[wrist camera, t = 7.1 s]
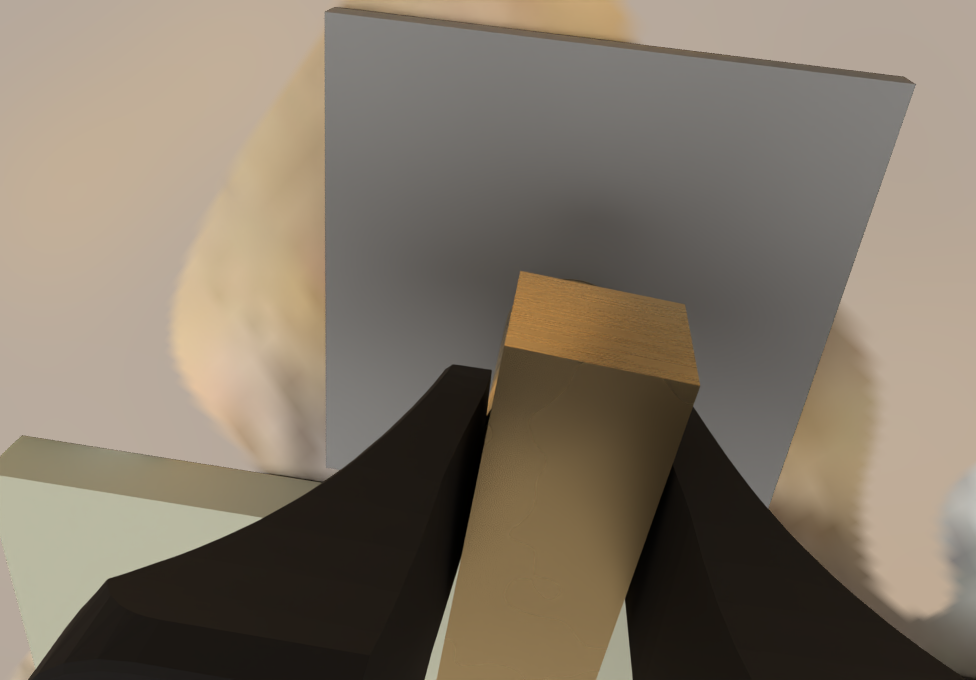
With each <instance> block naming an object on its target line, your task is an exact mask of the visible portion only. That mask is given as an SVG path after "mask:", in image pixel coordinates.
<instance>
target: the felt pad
mask: <svg viewBox="0 0 976 680" xmlns="http://www.w3.org/2000/svg"><path fill="white" fill-rule="evenodd" d="M915 85H916V84H914V83H913V82H911V81H910V80H908V79H907V78H905V77H901V76H893V75H885V74H876V73H869V72H861V71H852V70H844V69H835V68H828V67H820V66H811V65H803V64H795V63H787V62H779V61H771V60H762V59H754V58H745V57H738V56H730V55H722V54H714V53H713V54H712V53H705V52H697V51H689V50H680V49H672V48H665V47H656V46H648V45H640V44H632V43H624V42H616V41H608V40H599V39H591V38H583V37H575V36H567V35H559V34H550V33H542V32H534V31H526V30H518V29H510V28H501V27H493V26H485V25H477V24H469V23H461V22H452V21H444V20H436V19H428V18H420V17H412V16H403V15H395V14H387V13H379V12H371V11H363V10H354V9H346V8H338V7H334V8H332V9H329V10H327V11H325V280H326V468H332V469H338V470H341V469H342V468H343V467H345V466H346V465H347V464H349V463H350V462H351V461H352V460H354V459H355V458H356V457H357V456H359V455H360V454H361V453H362V452H363V451H364V450H366V449H367V448H368V447H369V446H370V445H372V444H373V443H374V442H375V441H376V440H378V439H379V438H380V437H381V436H382V435H383V434H384V433H386V432H387V431H388V430H389V429H390V428H391V427H392V426H393V425H394V424H395V423H396V422H397V421H398V420H399V419H400V418H401V417H402V416H403V415H404V414H405V413H406V412H407V411H408V410H409V409H410V408H412V407H413V405H414V404H415V403H416V402H417V401H418V400H419V399H420V398H421V397H422V396H423V395H424V394H425V393H426V392H427V390H428V389H429V388H430V387H431V386H432V385H433V384H434V382H435V381H436V380H437V379H438V378H439V376H440V375H441V374H442V373H443V371H444V370H445V369H446V368H448V367H449V366H451V365H452V364H456V365H463V366H469V367H476V368H483V369H490V370H492V374H491V382H490V390H491V386H492V381H493V377H494V372H495V368H496V363H497V359H498V354H499V350H500V346H501V341H502V337H503V332H504V328H505V323H506V320H507V316H508V314H509V312H510V309H511V308H512V306H513V303H514V298H515V294H516V289H517V284H518V280H519V275H520V271H524V272H529V273H534V274H539V275H544V276H548V277H553V278H558V279H576V280H582V281H585V282H589V283H591V284H594V285H596V286H598V287H602V288H607V289H612V290H617V291H622V292H627V293H632V294H637V295H642V296H647V297H651V298H656V299H661V300H666V301H671V302H676V303H681V304H685V307H686V312H687V318H688V323H689V328H690V334H691V339H692V344H693V350H694V355H695V360H696V366H697V371H698V376H699V382H700V388H699V391H698V394H697V397H696V400H695V402H694V405H693V407H694V408H695V410H696V411H697V413H698V414H699V416H700V417H701V419H702V420H703V422H704V423H705V425H706V426H707V428H708V429H709V431H710V432H711V434H712V435H713V436H714V438H715V439H716V441H717V442H718V444H719V445H720V447H721V448H722V449H723V451H724V452H725V454H726V455H727V457H728V458H729V459H730V461H731V462H732V464H733V465H734V466H735V468H736V469H737V470H738V472H739V473H740V474H741V476H742V477H743V478H744V479H745V481H746V482H747V483H748V485H749V486H750V487H751V489H752V490H753V491H754V492H755V494H756V495H757V496H758V497H759V499H760V500H761V501H762V502H763V503H764V505H765V506H766V507H767V508H768V507H769V505H770V502H771V499H772V496H773V493H774V490H775V487H776V484H777V482H778V479H779V476H780V473H781V470H782V467H783V464H784V461H785V459H786V456H787V453H788V450H789V447H790V444H791V441H792V438H793V436H794V433H795V430H796V427H797V424H798V421H799V418H800V416H801V413H802V410H803V407H804V404H805V401H806V398H807V395H808V393H809V390H810V387H811V384H812V381H813V378H814V375H815V372H816V370H817V367H818V364H819V361H820V358H821V355H822V352H823V349H824V347H825V344H826V341H827V338H828V335H829V332H830V329H831V327H832V324H833V321H834V318H835V315H836V312H837V309H838V306H839V304H840V301H841V298H842V295H843V292H844V289H845V286H846V283H847V281H848V278H849V275H850V272H851V269H852V266H853V263H854V261H855V258H856V255H857V252H858V249H859V246H860V243H861V240H862V238H863V235H864V232H865V229H866V226H867V223H868V220H869V217H870V215H871V212H872V208H873V206H874V203H875V200H876V197H877V194H878V192H879V189H880V186H881V183H882V180H883V177H884V174H885V172H886V168H887V166H888V163H889V160H890V157H891V154H892V151H893V148H894V146H895V143H896V140H897V137H898V134H899V131H900V128H901V126H902V123H903V120H904V117H905V114H906V111H907V108H908V105H909V103H910V99H911V96H912V94H913V91H914V88H915ZM489 395H490V391H489Z"/></svg>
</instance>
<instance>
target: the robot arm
mask: <svg viewBox="0 0 976 680" xmlns="http://www.w3.org/2000/svg"><path fill="white" fill-rule="evenodd" d="M491 374H492V370H490V369H483V368H476V367H469V366H463V365H456V364H452V365H451V366H449V367H448V368H446V369H445V370H444V371H443V373H442V374H441V375H440V376H439V378H438V379H437V380H436V381H435V382H434V384H433V385H432V386H431V387H430V388H429V389H428V390H427V392H426V393H425V394H424V395H423V396H422V397H421V398H420V399H419V400H418V401H417V402H416V403H415V404H414V405H413V407H412V408H410V409H409V410H408V411H407V412H406V413H405V414H404V415H403V416H402V417H401V418H400V419H399V420H398V421H397V422H396V423H395V424H394V425H393V426H392V427H391V428H390V429H389V430H388V431H387V432H386V433H384V434H383V435H382V436H381V437H380V438H379V439H378V440H376V441H375V442H374V443H373V444H372V445H370V446H369V447H368V448H367V449H366V450H364V451H363V452H362V453H361V454H360V455H359V456H357V457H356V458H355V459H354V460H352V461H351V462H350V463H349V464H347V465H346V466H345V467H343V468H342V469H341V470H339V471H338V472H337V473H335V474H334V475H332V476H331V477H330V478H328V479H327V480H325V481H324V482H322V483H321V484H319V485H318V486H316V487H315V488H313V489H312V490H311V491H309V492H307V493H306V494H304V495H303V496H301V497H299V498H298V499H296V500H294V501H292V502H291V503H289V504H287V505H285V506H284V507H282V508H280V509H278V510H276V511H275V512H273V513H271V514H269V515H267V516H265V517H264V518H262V519H260V520H258V521H256V522H254V523H252V524H250V525H248V526H246V527H244V528H242V529H239V530H237V531H235V532H233V533H231V534H229V535H227V536H224V537H222V538H220V539H217V540H215V541H212V542H210V543H208V544H205V545H203V546H201V547H198V548H196V549H193V550H191V551H188V552H186V553H183V554H180V555H178V556H175V557H172V558H169V559H166V560H163V561H160V562H157V563H154V564H151V565H148V566H146V567H143V568H140V569H137V570H134V571H131V572H128V573H125V574H122V575H119V576H115V577H112V578H109V579H107V580H106V581H105V582H104V584H103V585H102V586H101V587H100V589H99V590H98V591H97V592H96V593H95V594H94V595H93V596H92V597H91V598H90V599H89V601H88V602H87V603H86V604H85V605H84V606H83V607H82V608H81V609H80V610H79V612H78V613H77V614H76V615H75V617H74V618H73V619H72V620H71V622H70V623H69V624H68V625H67V627H66V628H65V629H64V631H63V632H62V633H61V635H60V636H59V638H58V639H57V640H56V642H55V643H54V644H53V646H52V647H51V649H50V650H49V651H48V653H47V654H46V656H45V657H44V658H43V660H42V661H41V663H40V664H39V665H38V667H37V668H36V669H35V671H34V672H33V674H32V675H31V676H30V678H29V679H28V680H425V676H426V673H427V669H428V665H429V661H430V657H431V654H432V650H433V647H434V644H435V641H436V637H437V634H438V631H439V628H440V624H441V621H442V618H443V615H444V612H445V608H446V605H447V602H448V599H449V595H450V592H451V589H452V586H453V583H454V579H455V576H456V573H457V570H458V566H459V563H460V560H461V556H462V551H463V546H464V541H465V537H466V532H467V527H468V522H469V517H470V512H471V507H472V502H473V497H474V492H475V487H476V482H477V477H478V473H479V472H478V470H479V462H480V453H481V444H482V436H483V430H484V426H485V421H486V417H487V408H488V400H489V391H490V382H491ZM625 606H626V616H627V626H628V637H629V647H630V657H631V668H632V678H633V680H966V679H964V678H963V677H962V676H960V675H959V674H957V673H956V672H954V671H953V670H952V669H950V668H949V667H947V666H946V665H944V664H943V663H942V662H940V661H939V660H937V659H936V658H934V657H933V656H932V655H930V654H929V653H927V652H926V651H924V650H923V649H922V648H920V647H919V646H918V645H916V644H915V643H914V642H912V641H911V640H910V639H908V638H907V637H906V636H904V635H903V634H902V633H900V632H899V631H898V630H896V629H895V628H894V627H892V626H891V625H890V624H889V623H887V622H886V621H885V620H884V619H883V618H881V617H880V616H879V615H878V614H877V613H875V612H874V611H873V610H872V609H870V608H869V607H868V606H867V605H866V604H864V603H863V602H862V601H861V600H860V599H858V598H857V597H856V596H855V595H854V594H852V593H851V592H850V591H849V590H848V589H847V588H846V587H844V586H843V585H842V584H841V583H840V582H839V581H838V580H837V579H836V578H834V577H833V576H832V575H831V574H830V573H829V572H828V571H827V570H826V569H825V568H824V567H823V566H822V565H821V564H820V563H819V562H818V561H817V560H816V559H815V558H814V557H813V556H812V555H811V554H810V553H809V552H808V551H807V550H805V549H804V548H803V547H802V546H801V545H800V544H799V542H798V541H797V540H796V539H795V538H794V537H793V536H792V535H791V534H790V533H789V532H788V531H787V530H786V529H785V528H784V526H783V525H782V524H781V523H780V522H779V521H778V519H777V518H776V517H775V516H774V515H773V514H772V513H771V511H770V510H769V509H768V508H767V507H766V506H765V505H764V503H763V502H762V501H761V500H760V499H759V497H758V496H757V495H756V494H755V492H754V491H753V490H752V489H751V487H750V486H749V485H748V483H747V482H746V481H745V479H744V478H743V477H742V476H741V474H740V473H739V472H738V470H737V469H736V468H735V466H734V465H733V464H732V462H731V461H730V459H729V458H728V457H727V455H726V454H725V452H724V451H723V449H722V448H721V447H720V445H719V444H718V442H717V441H716V439H715V438H714V436H713V435H712V434H711V432H710V431H709V429H708V428H707V426H706V425H705V423H704V422H703V420H702V419H701V417H700V416H699V414H698V413H697V411H696V410H695V408H694V407H693V408H692V411H691V414H690V416H689V419H688V422H687V425H686V428H685V431H684V433H683V436H682V439H681V442H680V445H679V447H678V450H677V453H676V456H675V459H674V462H673V464H672V467H671V470H670V473H669V476H668V478H667V481H666V484H665V487H664V490H663V493H662V495H661V498H660V501H659V504H658V507H657V509H656V512H655V515H654V518H653V521H652V524H651V526H650V529H649V532H648V535H647V538H646V541H645V543H644V546H643V549H642V552H641V555H640V557H639V560H638V563H637V566H636V569H635V572H634V574H633V577H632V580H631V583H630V586H629V588H628V591H627V594H626V597H625Z"/></svg>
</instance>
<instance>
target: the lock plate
mask: <svg viewBox="0 0 976 680" xmlns="http://www.w3.org/2000/svg"><path fill="white" fill-rule="evenodd" d="M319 484H321V482H314V481H308V480H302V479H295V478H289V477H283V476H276V475H270V474H264V473H257V472H251V471H244V470H238V469H232V468H226V467H219V466H213V465H206V464H200V463H194V462H188V461H181V460H174V459H168V458H162V457H155V456H149V455H143V454H136V453H130V452H124V451H118V450H111V449H105V448H98V447H93V446H86V445H80V444H73V443H67V442H61V441H54V440H48V439H42V438H36V437H28V436H23V435H22V436H21V437H20V438H19V439H18V440H17V441H16V442H15V443H13V444H12V445H11V446H10V447H9V448H8V449H7V450H6V451H5V452H4V453H3V454H2V455H1V456H0V539H1V542H2V546H3V550H4V553H5V557H6V561H7V565H8V569H9V572H10V576H11V579H12V583H13V587H14V591H15V595H16V598H17V602H18V606H19V610H20V613H21V617H22V621H23V624H24V628H25V632H26V635H27V639H28V643H29V647H30V651H31V654H32V658H33V662H34V666H35V669H36V668H37V667H38V665H39V664H40V663H41V661H42V660H43V658H44V657H45V656H46V654H47V653H48V651H49V650H50V649H51V647H52V646H53V644H54V643H55V642H56V640H57V639H58V638H59V636H60V635H61V633H62V632H63V631H64V629H65V628H66V627H67V625H68V624H69V623H70V622H71V620H72V619H73V618H74V617H75V615H76V614H77V613H78V612H79V610H80V609H81V608H82V607H83V606H84V605H85V604H86V603H87V602H88V601H89V599H90V598H91V597H92V596H93V595H94V594H95V593H96V592H97V591H98V590H99V589H100V587H101V586H102V585H103V584H104V582H105V581H106V580H107V579H109V578H112V577H115V576H119V575H122V574H125V573H128V572H131V571H134V570H137V569H140V568H143V567H146V566H148V565H151V564H154V563H157V562H160V561H163V560H166V559H169V558H172V557H175V556H178V555H180V554H183V553H186V552H188V551H191V550H193V549H196V548H198V547H201V546H203V545H205V544H208V543H210V542H212V541H215V540H217V539H220V538H222V537H224V536H227V535H229V534H231V533H233V532H235V531H237V530H239V529H242V528H244V527H246V526H248V525H250V524H252V523H254V522H256V521H258V520H260V519H262V518H264V517H265V516H267V515H269V514H271V513H273V512H275V511H276V510H278V509H280V508H282V507H284V506H285V505H287V504H289V503H291V502H292V501H294V500H296V499H298V498H299V497H301V496H303V495H304V494H306V493H307V492H309V491H311V490H312V489H313V488H315V487H316V486H318V485H319ZM460 561H461V560H460ZM459 566H460V563H459ZM459 566H458V570H457V573H456V576H455V579H454V583H453V586H452V589H451V592H450V595H449V599H448V602H447V605H446V608H445V612H444V615H443V618H442V621H441V624H440V628H439V631H438V634H437V637H436V641H435V644H434V647H433V650H432V654H431V657H430V661H429V665H428V669H427V673H426V676H425V680H436V679H437V674H438V670H439V665H440V660H441V655H442V650H443V645H444V640H445V635H446V630H447V625H448V620H449V615H450V610H451V606H452V601H453V596H454V591H455V586H456V581H457V576H458V571H459ZM596 680H633V678H632V668H631V657H630V647H629V637H628V626H627V616H626V606H625V600H624V603H623V605H622V608H621V611H620V614H619V617H618V619H617V622H616V625H615V628H614V631H613V634H612V636H611V639H610V642H609V645H608V648H607V650H606V653H605V656H604V659H603V662H602V665H601V667H600V670H599V673H598V676H597V679H596Z"/></svg>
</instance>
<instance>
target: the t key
mask: <svg viewBox="0 0 976 680" xmlns="http://www.w3.org/2000/svg"><path fill="white" fill-rule="evenodd" d="M699 388H700V382H699V376H698V371H697V366H696V360H695V355H694V350H693V344H692V339H691V334H690V328H689V323H688V318H687V312H686V307H685V304H681V303H676V302H671V301H666V300H661V299H656V298H651V297H647V296H642V295H637V294H632V293H627V292H622V291H617V290H612V289H607V288H602V287H598V286H596V285H594V284H591V283H589V282H585V281H582V280H576V279H558V278H553V277H548V276H544V275H539V274H534V273H529V272H524V271H520V275H519V280H518V284H517V289H516V294H515V298H514V303H513V306H512V308H511V309H510V312H509V314H508V316H507V320H506V323H505V328H504V332H503V337H502V341H501V346H500V350H499V354H498V359H497V363H496V368H495V372H494V377H493V381H492V386H491V390H490V395H489V400H488V408H487V417H486V421H485V426H484V430H483V436H482V444H481V453H480V462H479V470H478V472H479V473H478V477H477V482H476V487H475V492H474V497H473V502H472V507H471V512H470V517H469V522H468V527H467V532H466V537H465V541H464V546H463V551H462V556H461V561H460V566H459V571H458V576H457V581H456V586H455V591H454V596H453V601H452V606H451V610H450V615H449V620H448V625H447V630H446V635H445V640H444V645H443V650H442V655H441V660H440V665H439V670H438V674H437V679H436V680H596V679H597V676H598V673H599V670H600V667H601V665H602V662H603V659H604V656H605V653H606V650H607V648H608V645H609V642H610V639H611V636H612V634H613V631H614V628H615V625H616V622H617V619H618V617H619V614H620V611H621V608H622V605H623V603H624V600H625V597H626V594H627V591H628V588H629V586H630V583H631V580H632V577H633V574H634V572H635V569H636V566H637V563H638V560H639V557H640V555H641V552H642V549H643V546H644V543H645V541H646V538H647V535H648V532H649V529H650V526H651V524H652V521H653V518H654V515H655V512H656V509H657V507H658V504H659V501H660V498H661V495H662V493H663V490H664V487H665V484H666V481H667V478H668V476H669V473H670V470H671V467H672V464H673V462H674V459H675V456H676V453H677V450H678V447H679V445H680V442H681V439H682V436H683V433H684V431H685V428H686V425H687V422H688V419H689V416H690V414H691V411H692V408H693V405H694V402H695V400H696V397H697V394H698V391H699Z"/></svg>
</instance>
